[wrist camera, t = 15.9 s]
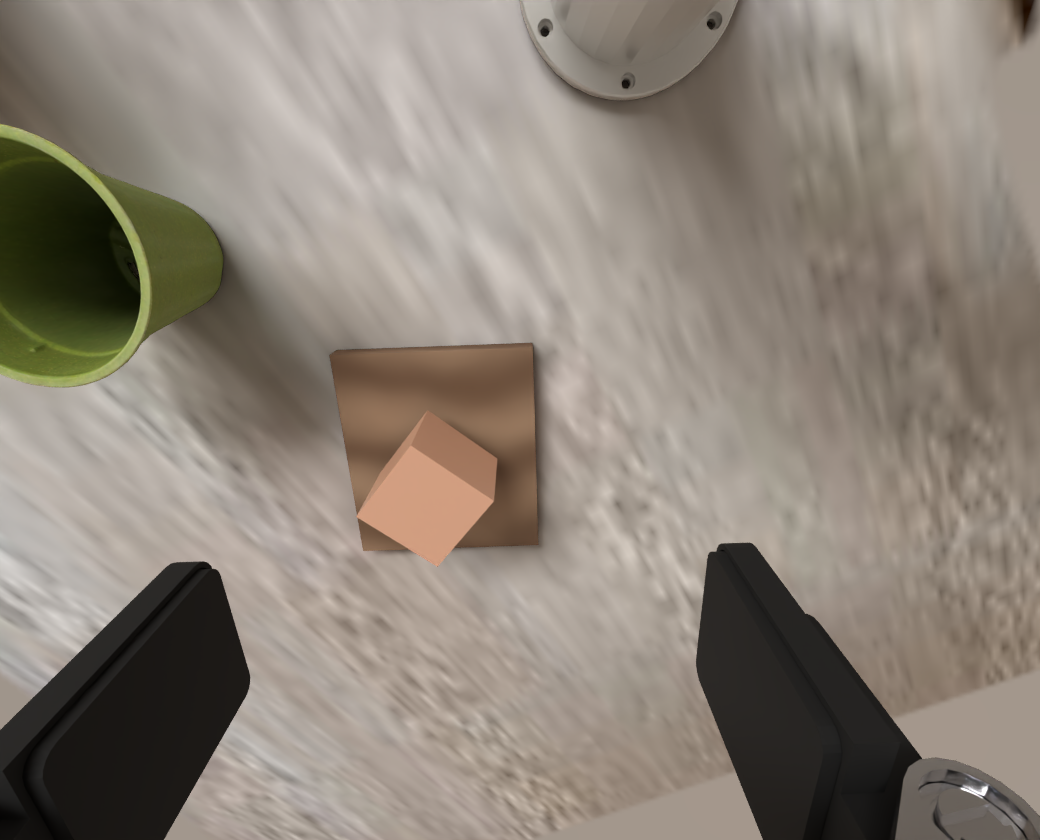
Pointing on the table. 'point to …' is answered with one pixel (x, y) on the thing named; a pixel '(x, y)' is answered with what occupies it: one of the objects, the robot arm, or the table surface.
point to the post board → (458, 402)
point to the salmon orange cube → (431, 490)
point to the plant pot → (89, 265)
